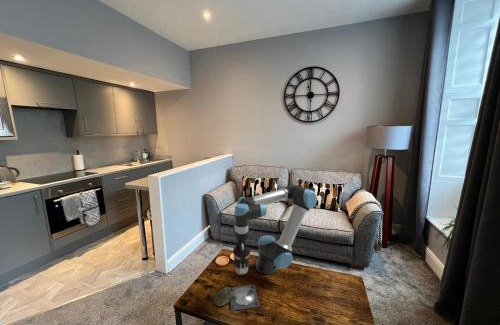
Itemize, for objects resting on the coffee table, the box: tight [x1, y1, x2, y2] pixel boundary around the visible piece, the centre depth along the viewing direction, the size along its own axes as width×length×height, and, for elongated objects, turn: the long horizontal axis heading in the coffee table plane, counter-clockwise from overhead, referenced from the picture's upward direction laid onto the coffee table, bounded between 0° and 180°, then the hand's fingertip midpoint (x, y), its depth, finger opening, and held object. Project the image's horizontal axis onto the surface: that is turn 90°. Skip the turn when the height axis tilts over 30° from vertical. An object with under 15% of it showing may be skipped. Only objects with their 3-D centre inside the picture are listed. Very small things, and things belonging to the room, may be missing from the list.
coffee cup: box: [232, 244, 251, 275], centre depth 123 cm, size 10×10×15 cm
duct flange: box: [228, 284, 260, 312], centre depth 126 cm, size 16×16×2 cm
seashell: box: [212, 286, 231, 307], centre depth 125 cm, size 10×7×10 cm
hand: (241, 267), depth 124 cm, fingers closed on coffee cup, 8 cm apart
